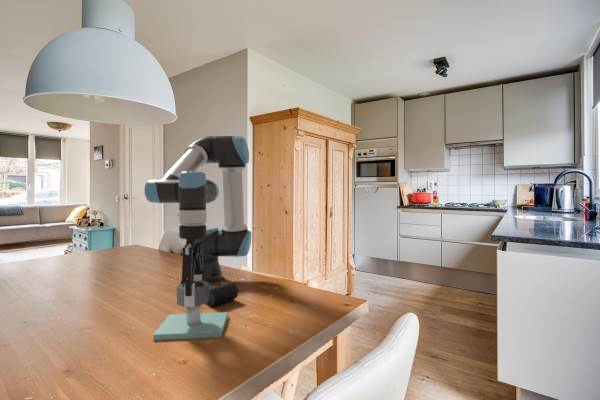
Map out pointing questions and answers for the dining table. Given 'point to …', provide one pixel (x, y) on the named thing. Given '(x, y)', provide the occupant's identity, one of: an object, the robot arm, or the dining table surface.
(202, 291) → the collar
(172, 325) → the post stand
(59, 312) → the dining table surface
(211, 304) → the end cap
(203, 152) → the robot arm
